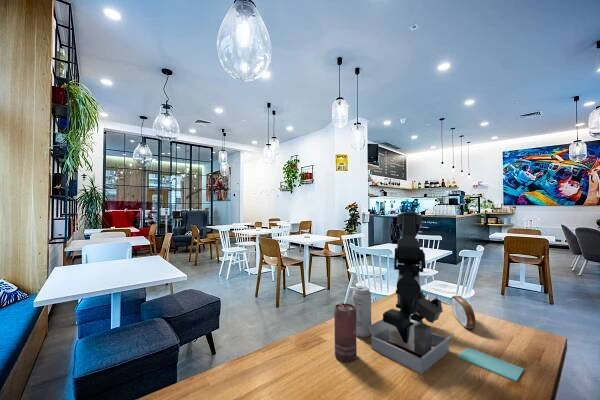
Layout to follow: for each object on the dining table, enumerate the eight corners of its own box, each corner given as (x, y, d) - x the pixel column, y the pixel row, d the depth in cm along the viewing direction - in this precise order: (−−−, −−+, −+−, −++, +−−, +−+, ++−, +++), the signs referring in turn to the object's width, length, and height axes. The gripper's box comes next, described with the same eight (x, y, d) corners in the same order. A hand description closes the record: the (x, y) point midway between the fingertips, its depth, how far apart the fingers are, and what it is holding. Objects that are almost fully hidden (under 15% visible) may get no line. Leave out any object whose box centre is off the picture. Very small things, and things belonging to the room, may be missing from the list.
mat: (457, 357, 74) (457, 356, 74) (467, 348, 78) (467, 347, 78) (516, 381, 64) (516, 380, 64) (523, 370, 68) (523, 368, 68)
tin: (476, 333, 87) (476, 307, 87) (466, 332, 88) (465, 307, 88) (459, 314, 102) (458, 292, 102) (450, 313, 103) (449, 292, 103)
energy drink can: (374, 336, 86) (374, 290, 86) (357, 339, 84) (357, 292, 84) (366, 328, 91) (365, 284, 92) (349, 330, 90) (349, 286, 90)
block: (389, 340, 81) (388, 317, 81) (396, 336, 84) (396, 313, 84) (425, 356, 72) (424, 330, 72) (431, 351, 75) (431, 326, 75)
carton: (366, 346, 80) (366, 326, 80) (395, 329, 90) (395, 312, 90) (428, 377, 66) (428, 353, 66) (455, 353, 76) (455, 332, 76)
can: (342, 347, 79) (342, 300, 80) (360, 356, 75) (360, 306, 75) (329, 355, 75) (329, 306, 75) (348, 365, 71) (347, 313, 71)
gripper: (420, 303, 66) (420, 366, 66) (451, 287, 78) (452, 340, 78) (381, 291, 75) (382, 347, 75) (414, 279, 86) (415, 327, 86)
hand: (409, 340), depth 78 cm, fingers closed on block, 4 cm apart
